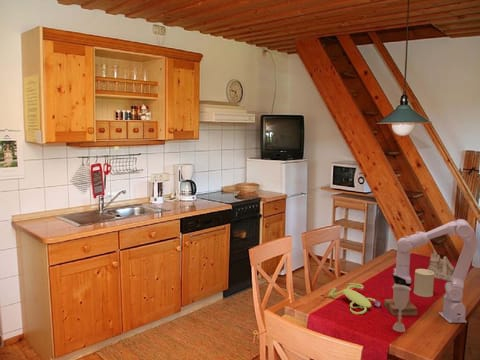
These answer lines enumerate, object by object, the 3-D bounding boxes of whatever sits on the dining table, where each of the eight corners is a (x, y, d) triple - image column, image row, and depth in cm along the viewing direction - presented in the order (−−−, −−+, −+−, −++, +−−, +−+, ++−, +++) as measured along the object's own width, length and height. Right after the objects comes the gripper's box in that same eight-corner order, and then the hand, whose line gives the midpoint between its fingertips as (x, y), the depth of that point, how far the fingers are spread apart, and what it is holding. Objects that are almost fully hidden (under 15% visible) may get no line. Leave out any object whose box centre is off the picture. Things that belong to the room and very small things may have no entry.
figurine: (355, 290, 222) (356, 279, 221) (389, 311, 197) (390, 299, 196) (324, 294, 216) (325, 283, 215) (355, 316, 191) (355, 305, 190)
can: (435, 297, 211) (436, 274, 210) (415, 296, 213) (416, 273, 212) (430, 290, 220) (432, 268, 219) (411, 289, 222) (413, 267, 220)
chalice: (404, 325, 182) (406, 284, 180) (411, 332, 176) (413, 291, 173) (387, 325, 182) (389, 284, 180) (393, 332, 175) (396, 291, 173)
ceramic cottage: (449, 281, 233) (451, 254, 232) (420, 274, 245) (422, 249, 244) (462, 277, 243) (463, 251, 242) (433, 270, 255) (435, 246, 254)
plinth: (417, 315, 192) (417, 308, 191) (393, 315, 191) (393, 309, 191) (406, 304, 203) (407, 298, 202) (383, 305, 202) (384, 299, 202)
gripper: (388, 259, 201) (386, 286, 203) (400, 269, 187) (399, 299, 189) (402, 259, 201) (401, 286, 203) (416, 269, 187) (414, 299, 189)
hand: (401, 292), depth 196 cm, fingers closed on cube, 5 cm apart
